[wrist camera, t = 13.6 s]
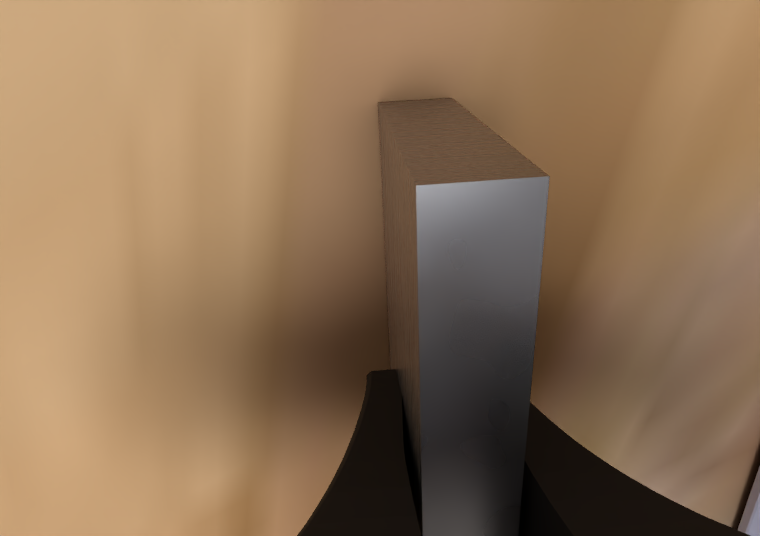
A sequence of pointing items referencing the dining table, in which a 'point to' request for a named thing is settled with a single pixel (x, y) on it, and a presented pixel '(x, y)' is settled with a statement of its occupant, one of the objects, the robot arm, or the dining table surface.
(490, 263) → the steel block
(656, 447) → the dining table surface
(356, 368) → the dining table surface
